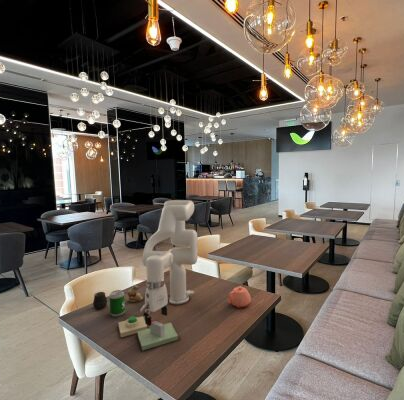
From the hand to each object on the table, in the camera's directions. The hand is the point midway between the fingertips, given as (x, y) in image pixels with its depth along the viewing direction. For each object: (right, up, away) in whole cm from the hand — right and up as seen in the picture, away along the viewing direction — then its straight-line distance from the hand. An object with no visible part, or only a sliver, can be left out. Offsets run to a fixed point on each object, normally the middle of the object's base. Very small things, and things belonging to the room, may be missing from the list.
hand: (156, 319), depth 121 cm
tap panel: (0, -9, +1) cm, 9 cm away
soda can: (-27, -7, +22) cm, 35 cm away
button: (-14, -5, +8) cm, 17 cm away
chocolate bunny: (-22, -6, +37) cm, 43 cm away
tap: (0, -7, +1) cm, 7 cm away
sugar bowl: (+39, -6, +32) cm, 51 cm away
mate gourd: (-39, -6, +29) cm, 49 cm away
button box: (-14, -8, +9) cm, 18 cm away
